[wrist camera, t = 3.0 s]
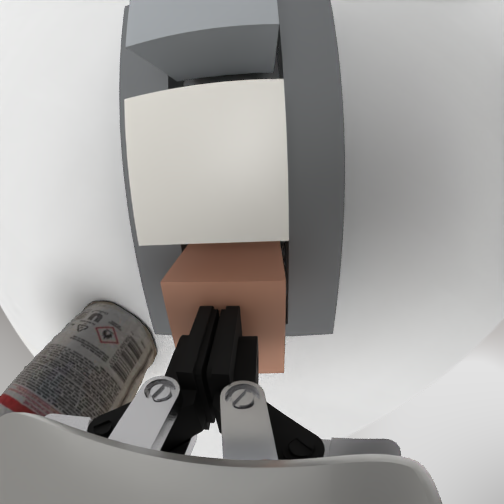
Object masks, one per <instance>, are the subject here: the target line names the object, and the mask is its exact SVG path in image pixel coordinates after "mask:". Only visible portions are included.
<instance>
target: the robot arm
mask: <svg viewBox="0 0 504 504" xmlns="http://www.w3.org/2000/svg"><path fill="white" fill-rule="evenodd" d="M258 372H259V351H258V336H242V326H241V314H240V306H226V309H221V313H220V317H219V311H218V309H214V307H213V306H200V307H199V309H198V312H197V315H196V317H195V320H194V323H193V325H192V328H191V331H190V334H189V335H181V337H180V339H179V341H178V344H177V346H176V348H175V351H174V353H173V356H172V359H171V361H170V364H169V366H168V369H167V371H166V374H165V376H158V377H154V378H151V379H149V380H148V381H146V382H145V383H144V384H143V385H142V387H141V388H140V390H139V391H138V393H137V394H136V396H135V397H134V399H133V400H132V402H129V403H127V404H125V405H123V406H121V407H118V408H116V409H114V410H112V411H109V412H107V413H105V414H102V415H100V416H98V417H96V418H94V419H93V420H91V418H90V417H81V416H71V415H62V414H48V415H46V416H45V417H44V416H40V415H36V414H31V413H25V412H11V413H7V414H4V415H2V416H1V417H0V504H442V502H441V498H440V496H439V493H438V490H437V488H436V486H435V483H434V481H433V479H432V477H431V476H430V474H429V473H428V471H427V470H426V469H425V467H424V466H423V465H421V464H420V463H419V462H417V461H415V460H412V459H410V458H406V457H402V456H401V451H400V448H399V446H398V445H397V444H396V443H395V442H394V441H392V440H389V439H349V438H332V439H331V440H324V439H320V438H319V437H318V436H317V435H315V434H314V433H312V432H310V431H309V430H307V429H306V428H304V427H303V426H301V425H299V424H298V423H296V422H295V421H293V420H292V419H290V418H289V417H287V416H286V415H284V414H283V413H282V412H280V411H279V410H277V409H276V408H274V407H273V406H271V405H270V404H269V403H267V402H266V398H265V393H264V391H263V389H262V388H261V387H260V386H259V385H258ZM215 418H216V421H217V424H218V428H219V432H220V433H221V434H222V446H223V459H218V458H207V457H198V456H190V455H191V452H192V450H193V447H194V445H195V443H196V440H197V434H198V433H200V432H202V431H203V429H205V430H209V426H210V423H214V422H215Z"/></svg>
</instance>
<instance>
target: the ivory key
mask: <svg viewBox="0 0 504 504" xmlns="http://www.w3.org/2000/svg"><path fill="white" fill-rule="evenodd" d="M124 109H125V134H126V149H127V162H128V172H129V182H130V191H131V199H132V206H133V213H134V220H135V226H136V232H137V238H138V244H139V246H147V245H172V244H200V243H230V242H263V241H289V202H288V160H287V133H286V111H285V93H284V79H256V80H239V81H226V82H216V83H207V84H199V85H192V86H186V87H179V88H173V89H168V90H163V91H158V92H153V93H148V94H144V95H139V96H135V97H131V98H127V99H124Z"/></svg>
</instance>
